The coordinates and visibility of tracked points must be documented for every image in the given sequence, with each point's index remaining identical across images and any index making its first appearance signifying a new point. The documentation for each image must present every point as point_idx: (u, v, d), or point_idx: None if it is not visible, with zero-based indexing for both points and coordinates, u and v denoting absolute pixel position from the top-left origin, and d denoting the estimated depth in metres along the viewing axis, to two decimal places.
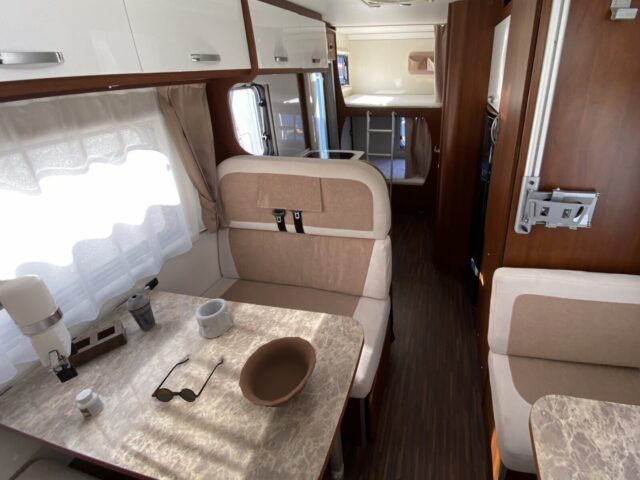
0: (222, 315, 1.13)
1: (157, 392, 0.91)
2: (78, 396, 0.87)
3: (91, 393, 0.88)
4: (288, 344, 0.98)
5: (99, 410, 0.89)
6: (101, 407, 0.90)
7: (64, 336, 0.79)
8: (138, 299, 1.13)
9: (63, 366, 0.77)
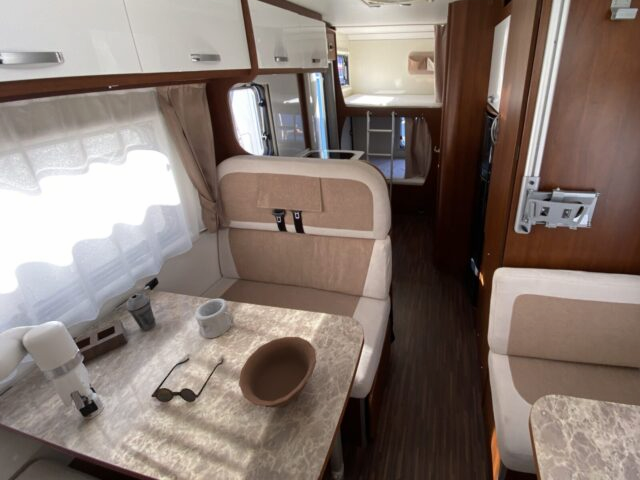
0: (222, 315, 1.13)
1: (157, 392, 0.91)
2: None
3: (91, 393, 0.88)
4: (288, 344, 0.98)
5: (99, 410, 0.89)
6: (101, 407, 0.90)
7: (84, 376, 0.84)
8: (138, 299, 1.13)
9: (85, 403, 0.84)
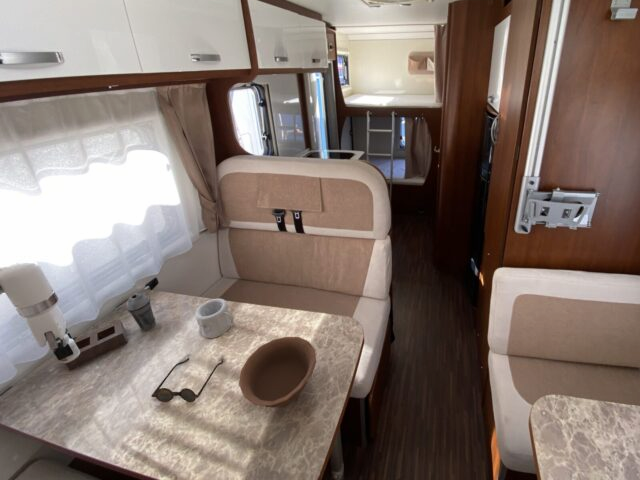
0: (222, 315, 1.13)
1: (157, 392, 0.91)
2: None
3: (67, 338, 0.89)
4: (288, 344, 0.98)
5: (75, 356, 0.91)
6: (77, 353, 0.91)
7: (59, 319, 0.86)
8: (138, 299, 1.13)
9: (59, 344, 0.85)
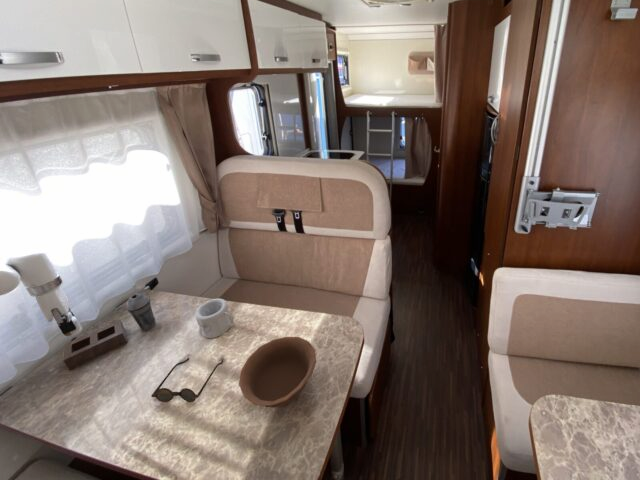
0: (222, 315, 1.13)
1: (157, 392, 0.91)
2: None
3: (70, 315, 1.02)
4: (288, 344, 0.98)
5: (78, 331, 1.04)
6: (79, 329, 1.05)
7: (63, 298, 0.99)
8: (138, 299, 1.13)
9: (64, 320, 0.98)
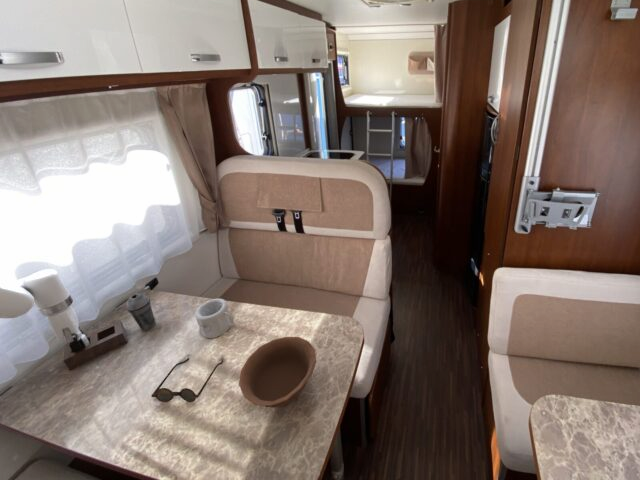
0: (222, 315, 1.13)
1: (157, 392, 0.91)
2: None
3: (80, 333, 1.05)
4: (288, 344, 0.98)
5: None
6: None
7: (74, 317, 1.02)
8: (138, 299, 1.13)
9: (74, 339, 1.01)
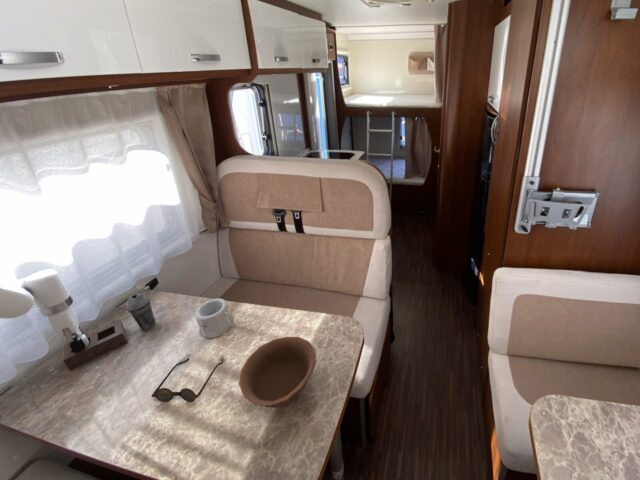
0: (222, 315, 1.13)
1: (157, 392, 0.91)
2: None
3: (80, 333, 1.05)
4: (288, 344, 0.98)
5: None
6: None
7: (74, 317, 1.02)
8: (138, 299, 1.13)
9: (75, 339, 1.01)
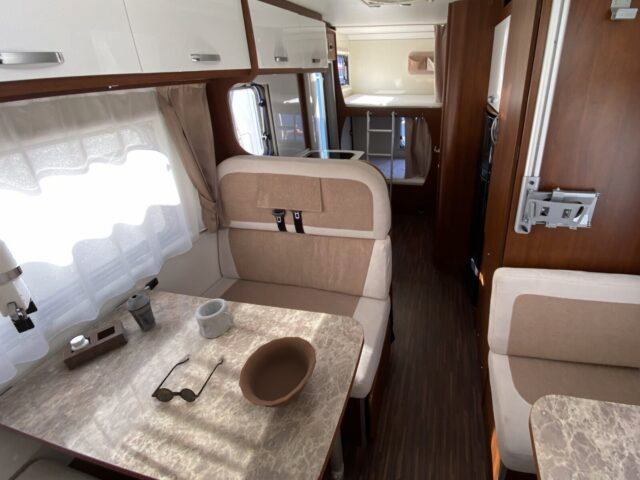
0: (222, 315, 1.13)
1: (157, 392, 0.91)
2: (72, 340, 1.05)
3: (83, 338, 1.06)
4: (288, 344, 0.98)
5: None
6: None
7: (23, 291, 0.89)
8: (138, 299, 1.13)
9: (20, 316, 0.86)
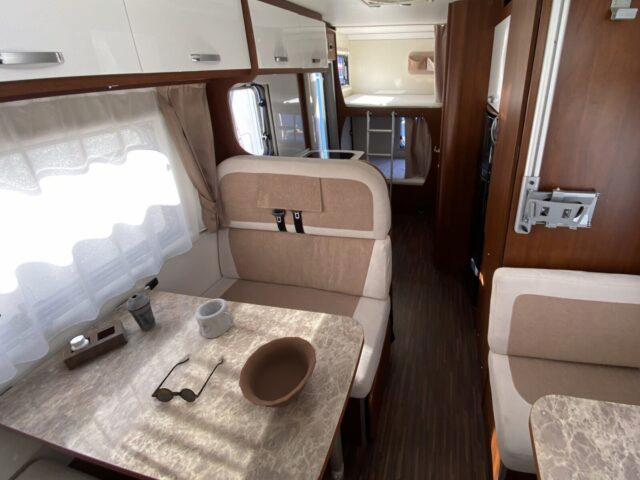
0: (222, 315, 1.13)
1: (157, 392, 0.91)
2: (72, 340, 1.05)
3: (83, 338, 1.06)
4: (288, 344, 0.98)
5: None
6: None
7: None
8: (138, 299, 1.13)
9: None
